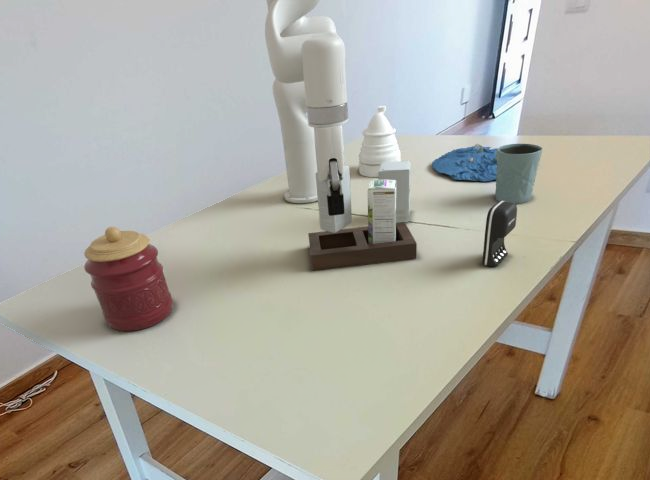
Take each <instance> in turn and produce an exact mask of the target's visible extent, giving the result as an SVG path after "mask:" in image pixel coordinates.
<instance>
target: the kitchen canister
mask: <svg viewBox="0 0 650 480" xmlns="http://www.w3.org/2000/svg"><path fill="white" fill-rule="evenodd" d="M150 242H151V241H150V238H149V236H147V235H146V234H143V233H139V232H138V231H134V230H120V229H119V228H118V227H116V226H109V227H107V228H106V229H105V231H104V235H101V236H99V237H97V238H95V239H94V240H93V241H92V242H91V243H90V245H89V246H88V247H87V248H85V250H84V252H83V254H84V255H83V256H84V258H85V259H87V260H86V261H85V262H84V266H83V269H84V271H85V272H86V274H88V275H90V278H91V281H90V287H91V288H92V290H93V291H94V294H95V297H96V299H97V301H98V303H99V305H100V308H101V311H102V316H103V318H104V321H106V323H107V324H108V327H110V328H112V329H113V330H117V331H121V332H133V331H139V330H143V329H147V328H149V327H153V326H155V325H157V324H159V323H160V322H162V321H164V320H165V319H166V318H168V317H169V316H170V315H171V313H172V311H173V308H174V305H173V297H172V293H171V291H170V290H169V287H168V283H167V280H166V276H165V273H164V266H163V264H162V263H161V262H159V260H158V254H159V249H158V248H157V247H156V246H155V245H153V244H150Z"/></svg>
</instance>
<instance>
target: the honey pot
mask: <svg viewBox="0 0 650 480" xmlns="http://www.w3.org/2000/svg"><path fill="white" fill-rule="evenodd" d="M377 111H378V112H376V113H374V115H373V116H372V117H371V119H370V120H369V123H368V125H367V128H365V129H364V130H363V131H362V132H361V134H362V136H363V140H362V143H361V147H360V152H359V154H358V171H359V175H361V176H363V177H368V178H378V171H379V167H380V164H381V163H383V162H398V161H402V159H401V157H402V156H401V154H402V152H401V150H400V148H399V144H398V140H397V138H396V134H395V133H396V131H397V129H396V128H395V127H393V126H392V125H391V123H390V121H389V120H388V118H387V116H385V113H386V111H387V105H379V106H377Z"/></svg>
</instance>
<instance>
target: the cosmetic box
mask: <svg viewBox="0 0 650 480" xmlns="http://www.w3.org/2000/svg"><path fill="white" fill-rule="evenodd" d="M328 177H329V179H332V178H331V175H328ZM338 178H339V177H338ZM341 184H342V194H343V196H344V212H345V213H344V214H342V215H333V216H329V214H328V202H327V195H328V188H327V179H326V180H325V181H323V182H320V181H319V176H318V172H316V185H317V197H318V201H317V206H318V207H317V208H318V218H319V228H320V230H321V231H328V232H333V233H336V232H337V231H339V230H341V229H345V228H346V227H347V226H349V225H351V224H352V223H353V213H352V196H351V193H352V192H351V177H350V166H349V165H344V179H343V180H341ZM331 185H332V183H330V186H331Z"/></svg>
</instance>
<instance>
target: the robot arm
mask: <svg viewBox="0 0 650 480" xmlns="http://www.w3.org/2000/svg"><path fill="white" fill-rule="evenodd" d="M320 1H321V0H266V5H267V15H266V18H265V22H264V23H265V24H264V36H265V45H266V48H267V55H268V59H269V63H270V68H271V71H272V74H273V76H274V78H275V79H274V81H273V83H272V94H273V99H274V103H275V106H276V111H277V114H278V119H279V124H280V130H281V131H280V132H281V139H282V145H283V154H284V160H285V167H286V168H285V169H286V177H287V184H288V185H287V186H288V190H287V191H285V193H284V195H283V196H284V200H285V201H287V202H289V203H293V204H308V203H313V202H318V197H317V185H316V172H318V176H319V181H320V182H323V181H325V180H326V179H327V188H328V195H327V202H328V214H329V216H333V215H342V214H344V213H345V212H344V196H343V194H342V184H341V180H343V179H344V166H345V148H344V144H345V143H344V132H343V131H344V130H343V129H344V128H343V125H345V124H347V123H349V111H348V110H349V107H348V91H347V90H348V89H347V73H346V72H347V70H346V61H347V53H346V51H347V50H346V45H345V42H344V40H343V39H342V38H341V37H340V35H339V34H338V31H337V28H336V24H335V23H334V20H332V18H330V17H329V16H326V15H317V16H316V15H315V16H308V17H306V15H307V14H308V13H310V12H312V10H314V9H315V8H316V7H317V5H318V4H319V3H320ZM306 114H307V115H306ZM328 175H331V178H332V179H329V177H328ZM338 177H339V178H338ZM330 183H332V185H331V186H330Z"/></svg>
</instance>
